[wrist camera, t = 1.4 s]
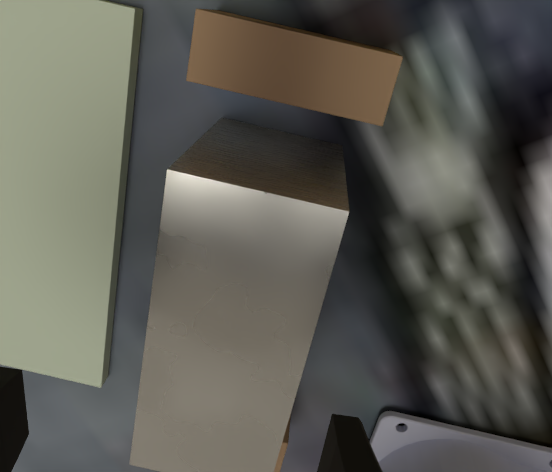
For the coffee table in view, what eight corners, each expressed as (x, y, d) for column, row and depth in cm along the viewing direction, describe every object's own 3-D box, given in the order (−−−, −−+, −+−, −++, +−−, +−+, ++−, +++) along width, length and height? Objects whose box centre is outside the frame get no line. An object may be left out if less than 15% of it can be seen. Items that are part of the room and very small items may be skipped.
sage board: (142, 9, 17) (134, 8, 17) (108, 376, 24) (101, 387, 23) (-115, -52, 17) (-135, -54, 17) (-80, 332, 24) (-93, 342, 23)
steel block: (342, 144, 19) (349, 211, 12) (283, 361, 23) (266, 496, 16) (222, 116, 19) (167, 169, 12) (185, 338, 23) (129, 464, 16)
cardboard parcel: (390, 50, 17) (403, 56, 14) (283, 425, 24) (277, 478, 21) (217, 9, 17) (195, 8, 14) (159, 396, 24) (137, 445, 21)
